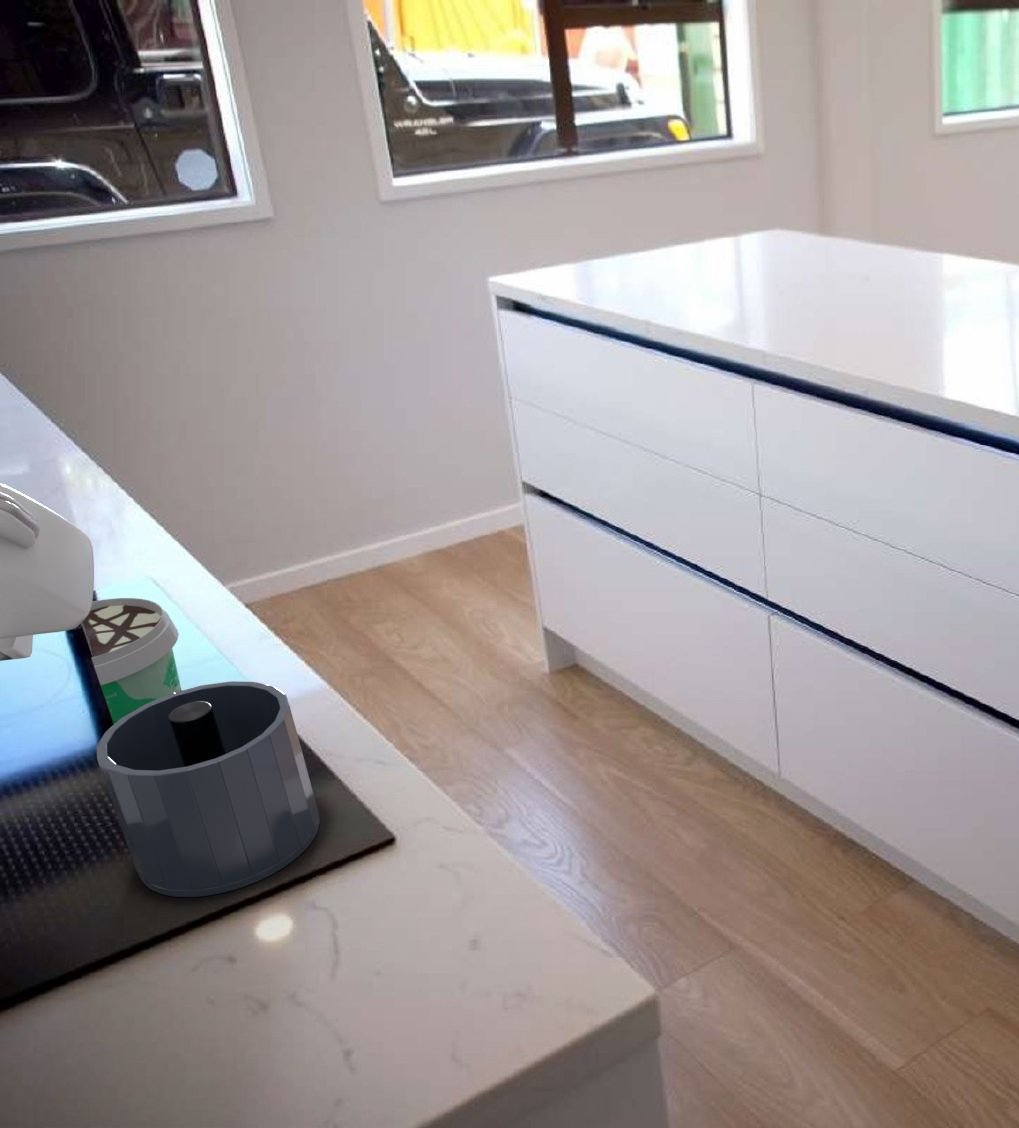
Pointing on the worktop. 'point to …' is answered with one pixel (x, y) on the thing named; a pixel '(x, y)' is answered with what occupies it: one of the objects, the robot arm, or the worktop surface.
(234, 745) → the processor bowl
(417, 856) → the worktop surface
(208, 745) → the blade unit
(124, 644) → the food container
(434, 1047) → the worktop surface
